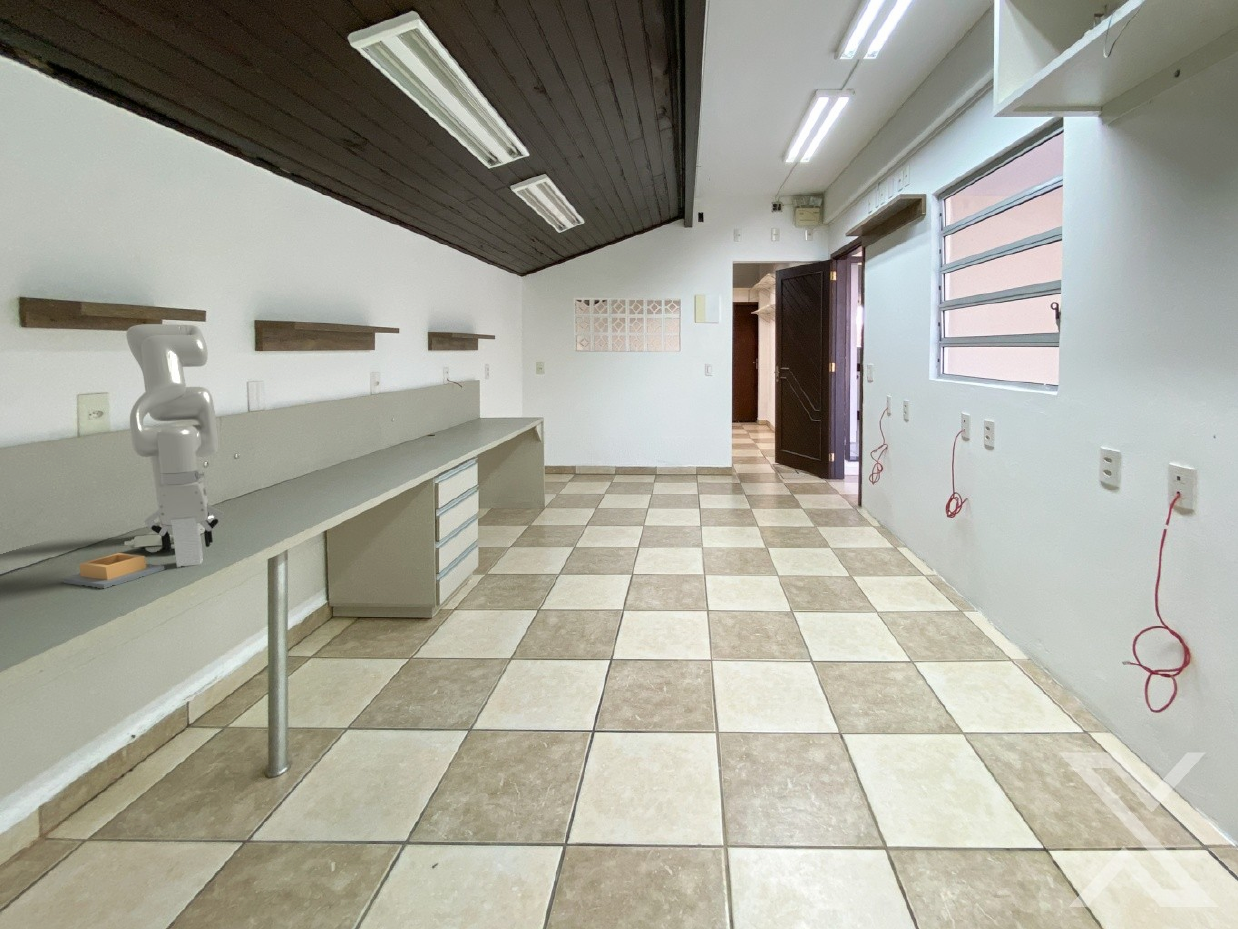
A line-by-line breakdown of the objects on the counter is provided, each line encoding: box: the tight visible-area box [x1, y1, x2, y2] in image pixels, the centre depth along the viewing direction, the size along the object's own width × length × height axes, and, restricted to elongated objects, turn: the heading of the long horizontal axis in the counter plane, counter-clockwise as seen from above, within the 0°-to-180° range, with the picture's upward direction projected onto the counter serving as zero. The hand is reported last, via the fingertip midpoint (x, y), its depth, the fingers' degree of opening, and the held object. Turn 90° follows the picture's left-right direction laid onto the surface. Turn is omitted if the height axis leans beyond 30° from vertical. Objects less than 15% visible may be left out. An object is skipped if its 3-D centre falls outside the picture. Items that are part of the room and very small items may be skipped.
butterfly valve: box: [124, 530, 175, 553], centre depth 182 cm, size 9×20×17 cm
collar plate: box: [61, 552, 165, 590], centre depth 160 cm, size 14×14×4 cm
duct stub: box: [171, 517, 204, 568], centre depth 168 cm, size 5×5×12 cm
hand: (188, 547), depth 169 cm, fingers open, 7 cm apart
